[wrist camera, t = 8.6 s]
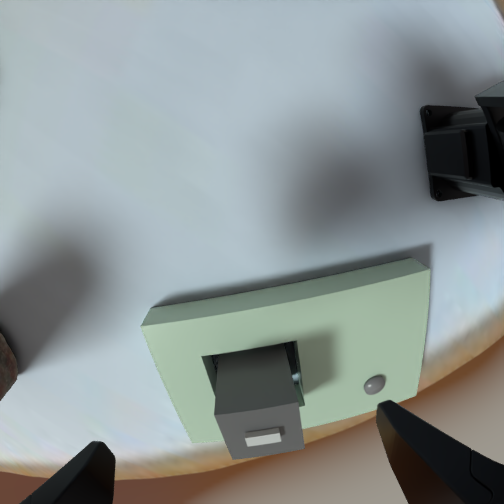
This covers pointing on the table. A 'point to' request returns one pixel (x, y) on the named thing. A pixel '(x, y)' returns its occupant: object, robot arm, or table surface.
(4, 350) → the brown cylinder
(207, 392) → the socket box
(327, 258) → the table surface
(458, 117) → the robot arm
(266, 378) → the block
